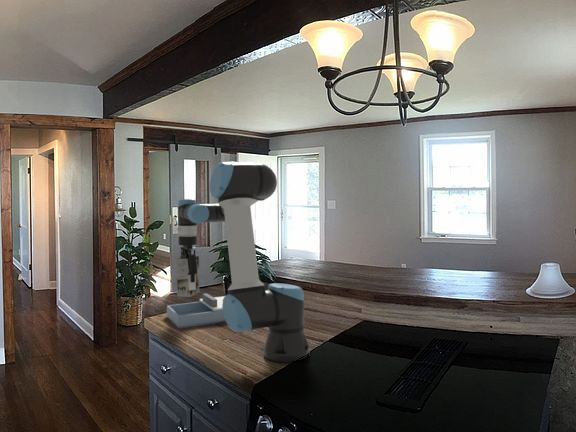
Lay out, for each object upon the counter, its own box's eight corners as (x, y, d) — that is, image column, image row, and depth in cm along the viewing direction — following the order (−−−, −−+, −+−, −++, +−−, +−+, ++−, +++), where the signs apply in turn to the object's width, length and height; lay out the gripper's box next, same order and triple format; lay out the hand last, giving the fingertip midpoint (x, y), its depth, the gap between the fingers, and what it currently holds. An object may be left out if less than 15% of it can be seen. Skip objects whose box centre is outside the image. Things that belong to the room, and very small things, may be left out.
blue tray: (226, 321, 183) (226, 309, 183) (178, 328, 173) (178, 316, 173) (210, 311, 200) (210, 300, 200) (166, 316, 191) (166, 305, 191)
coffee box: (191, 297, 180) (190, 258, 179) (176, 296, 181) (176, 258, 180) (199, 292, 189) (199, 255, 188) (186, 292, 190) (185, 255, 189)
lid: (258, 304, 190) (257, 296, 189) (214, 310, 180) (213, 301, 180) (240, 295, 207) (240, 288, 207) (199, 300, 198) (199, 292, 197)
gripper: (172, 233, 192) (172, 283, 193) (186, 238, 172) (187, 293, 173) (188, 233, 196) (189, 281, 197) (204, 237, 175) (205, 291, 176)
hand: (188, 287), depth 185 cm, fingers closed on coffee box, 10 cm apart
